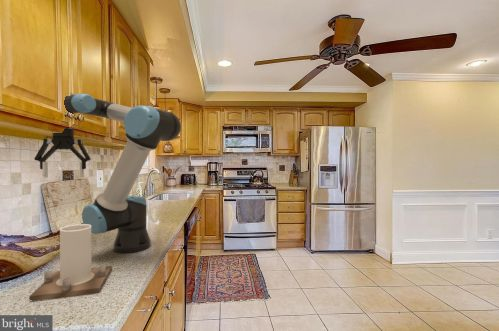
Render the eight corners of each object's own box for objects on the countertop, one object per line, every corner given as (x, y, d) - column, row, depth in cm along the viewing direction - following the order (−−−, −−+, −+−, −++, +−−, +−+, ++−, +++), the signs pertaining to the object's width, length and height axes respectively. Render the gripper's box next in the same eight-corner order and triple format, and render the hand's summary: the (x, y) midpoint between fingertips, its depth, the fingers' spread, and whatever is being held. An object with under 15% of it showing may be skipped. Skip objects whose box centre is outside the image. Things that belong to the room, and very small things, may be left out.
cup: (87, 269, 88) (86, 222, 88) (95, 277, 82) (94, 227, 82) (57, 277, 82) (57, 227, 82) (63, 286, 76) (63, 232, 76)
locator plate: (111, 269, 92) (111, 257, 92) (99, 292, 76) (99, 277, 76) (55, 275, 88) (55, 262, 88) (29, 301, 71) (29, 285, 71)
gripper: (98, 130, 120) (98, 176, 120) (33, 128, 113) (33, 176, 113) (93, 128, 113) (93, 177, 113) (23, 125, 106) (24, 177, 106)
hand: (63, 177), depth 113 cm, fingers open, 13 cm apart
